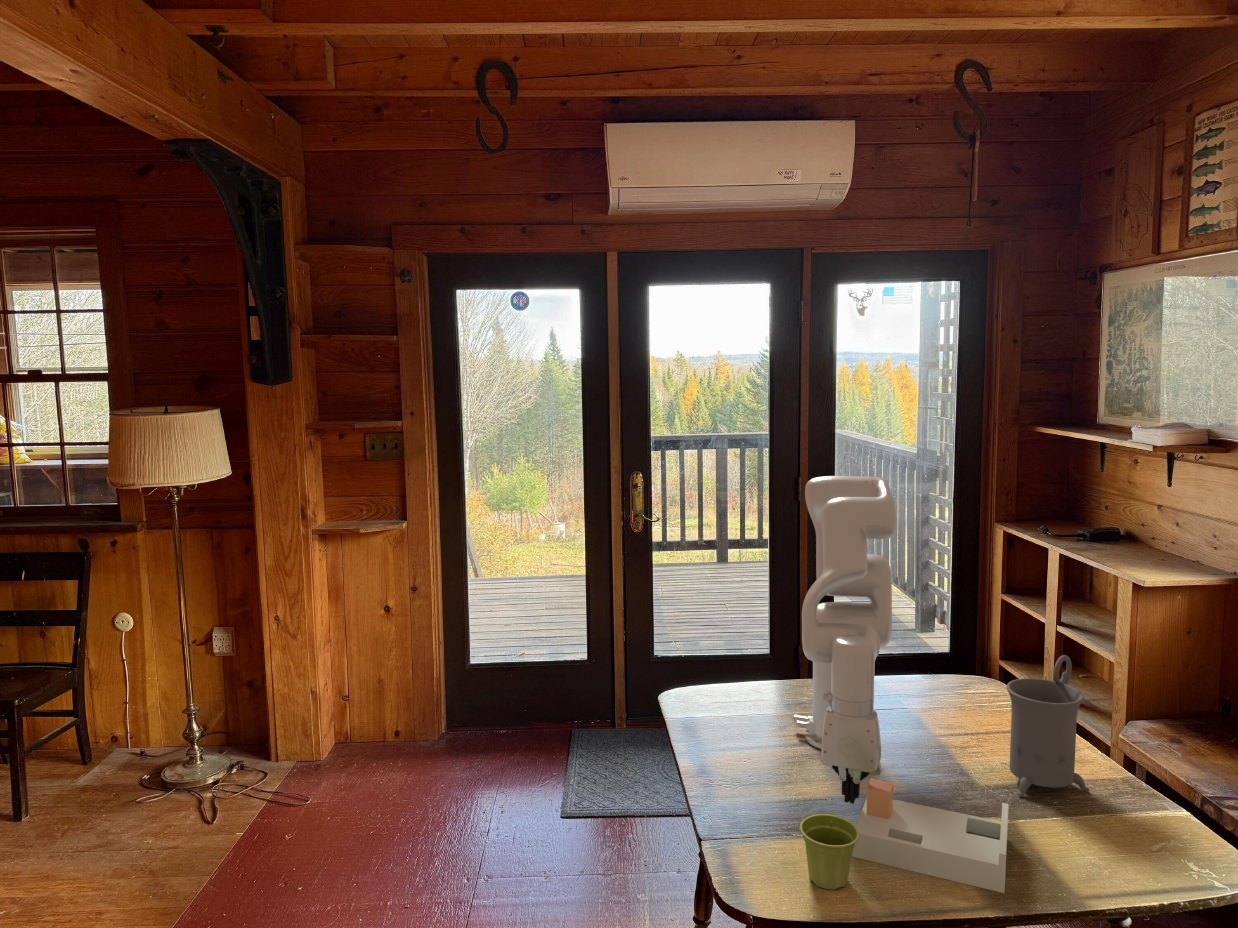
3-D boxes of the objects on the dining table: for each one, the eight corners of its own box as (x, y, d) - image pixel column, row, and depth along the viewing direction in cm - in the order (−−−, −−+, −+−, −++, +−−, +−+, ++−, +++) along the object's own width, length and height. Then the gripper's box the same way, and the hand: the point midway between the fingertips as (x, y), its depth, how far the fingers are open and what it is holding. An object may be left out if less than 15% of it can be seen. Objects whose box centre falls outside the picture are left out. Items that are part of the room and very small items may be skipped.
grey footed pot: (1057, 813, 155) (1063, 684, 152) (982, 782, 167) (987, 662, 164) (1103, 782, 166) (1110, 662, 164) (1030, 755, 178) (1035, 643, 175)
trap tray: (850, 856, 142) (851, 820, 142) (867, 808, 158) (868, 776, 157) (1004, 893, 132) (1006, 854, 131) (1007, 838, 147) (1008, 803, 146)
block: (866, 814, 150) (867, 787, 150) (870, 803, 154) (870, 778, 153) (889, 819, 148) (890, 792, 148) (892, 808, 152) (893, 782, 151)
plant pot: (859, 867, 139) (860, 818, 138) (856, 901, 130) (857, 849, 129) (802, 857, 142) (803, 809, 141) (796, 890, 133) (796, 839, 132)
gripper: (806, 704, 151) (805, 800, 153) (891, 718, 144) (889, 818, 147) (816, 690, 158) (814, 782, 160) (898, 703, 151) (895, 798, 153)
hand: (850, 799), depth 153 cm, fingers closed
